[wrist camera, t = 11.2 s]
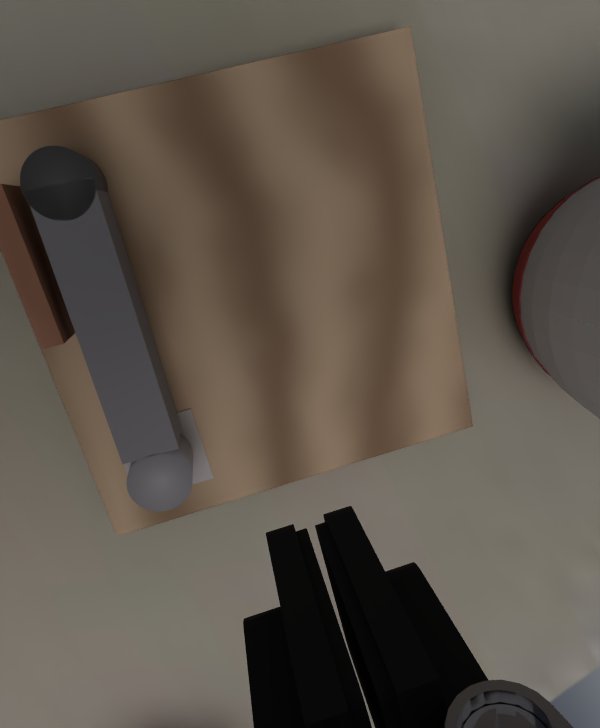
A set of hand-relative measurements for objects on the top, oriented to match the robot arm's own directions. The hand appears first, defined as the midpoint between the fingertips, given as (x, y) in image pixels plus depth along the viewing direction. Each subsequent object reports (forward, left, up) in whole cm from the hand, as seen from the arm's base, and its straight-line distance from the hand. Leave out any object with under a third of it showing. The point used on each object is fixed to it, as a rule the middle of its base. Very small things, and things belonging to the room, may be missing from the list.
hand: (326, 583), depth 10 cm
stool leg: (-6, +2, -20) cm, 21 cm away
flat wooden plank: (+1, +2, -22) cm, 22 cm away
